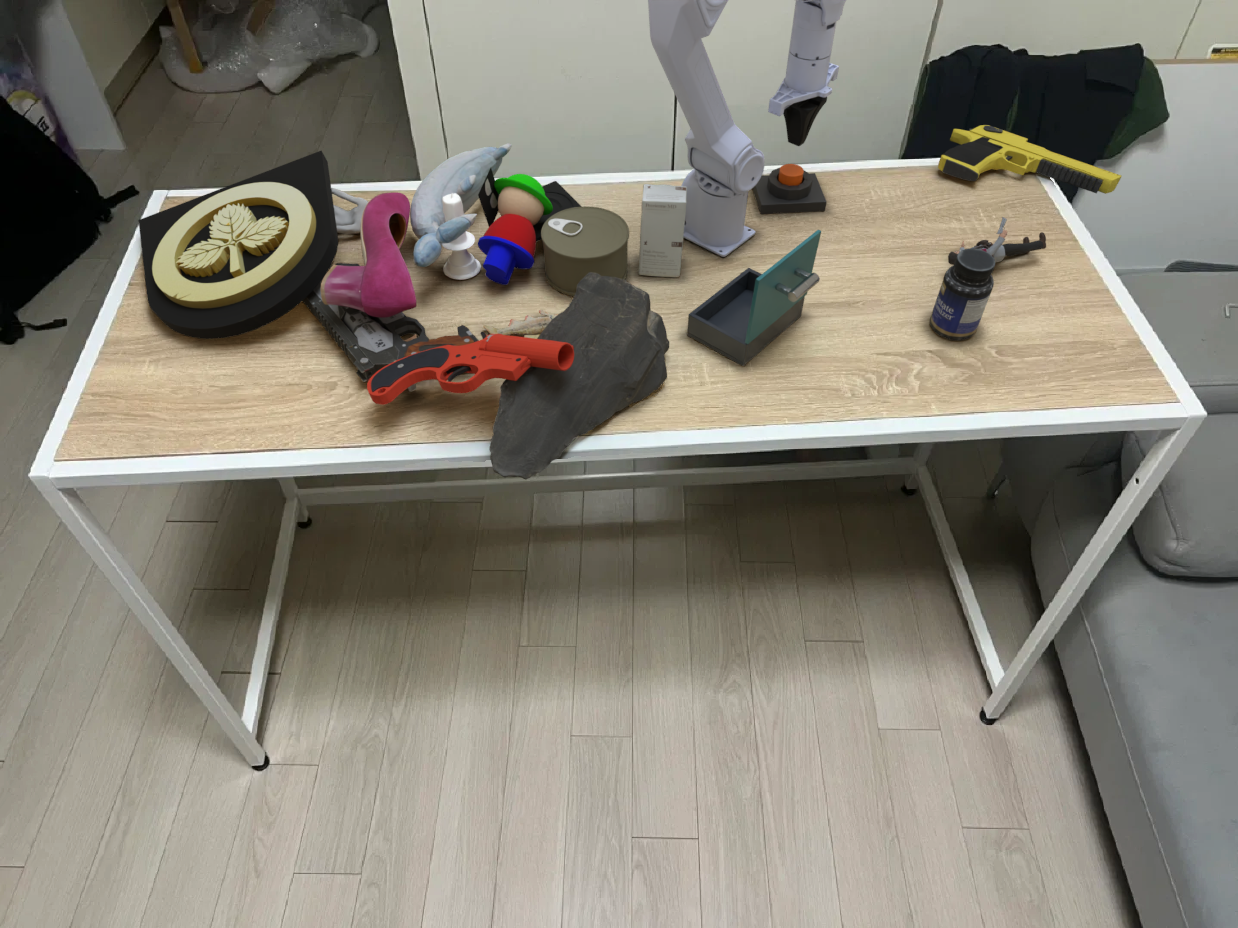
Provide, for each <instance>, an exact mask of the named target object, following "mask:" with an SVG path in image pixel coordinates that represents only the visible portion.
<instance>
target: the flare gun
mask: <svg viewBox="0 0 1238 928" xmlns="http://www.w3.org/2000/svg"><path fill="white" fill-rule="evenodd" d="M480 336H481V338H482V339H478V340H479V341H477V342H474V343H471V344H466V345H462V346H453V345H445V346H440V347H436V348H432V349H428V350H425V351H421V352H418V353H414V354H412V355H409V356H407V357H404V358H401V359H399V360H397V361H395V362H393V363H391V364H389V365H386V366H385V367H383V368H382V369H380V370H378V371H377V372H376V373H375V374H374V375H373V376H372V377H371V378H370V379H369V380H368V381H367V383H366V384H367V385H366V389H367V392H368V395H369V397H370V398H371V401H372V402H373V403H374V404H375V405H380V406H384V405H388V404H391V403H392V402H393V401H394V400H395V399H396V398H398V397H399V396H400V395H401V394H402V393H403V392H404V391H406V390H408V389H407V388H408V387H410V386H411V385H413V384H418V383H420V382H423V381H430V380H433V381H437V382H438V384H439V386H440V388H441V390H443V391H444V392H448V393H453V394H467V393H472V392H474V391H475V390H477V389H478V388H479V387H481V386H482V385H483V384H484V383H485V382H487V381H489V380H493V379H503V380H506V379H508V380H514V381H516V380H517V379H518V378H519V377H520V376H521V375H522V374H523V373H524V372H525V371H526V370H527V369H529V368H530V366H533V367H540V368H547V369H554V370H561V371H565V370H568V369H569V368H570V367H571V365H572V363H573V360H574V350H573V349H574V347H573V346H572V345H571V344H569V343H566V342H558V341H551V340H543V339H535V338H526V337H524V336H519V335H518V336H508V335H503V334H490V333H488V334H487V333H486V332H485V331H480ZM463 374H472V376H471V377H470V378H468V379H466V380H464V381H453V380H454V379H455V378H457V377H458V376H460V375H463Z"/></svg>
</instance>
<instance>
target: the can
mask: <svg viewBox="0 0 1238 928" xmlns="http://www.w3.org/2000/svg"><path fill="white" fill-rule="evenodd" d="M629 237H630V229H629V225H628V223H627V221H626V220H625V219H624V218H623V217H622V216H621V215H619V214H618V213H616V212H614V211H612V210H609V209H606V208H603V207H599V206H598V207H597V206H587V205H586V206H582V207H574V208H569V209H565V210H562V211H560V212H558V213H556V214H554V215H552V216H551V217H550V218H549V219H547V220H546V222H545V223H544V225H543V227H542V230H541V238H542V240H541V242H542V247H543V260H544V272H545V273H544V274H545V278H546V281H547V282H548V284H549V285H550V286H551V287H552V288H553V289H554V290H556V291H557V292H559V293H561V294H563V295H565V296H569V297H572V298H573V297H574V295H575V293H576V289H577V284H578V283H579V282H580V281H581V280H582V279H583V278H584V277H585V276H586V275H587V274H588V273H589V272H591V273H598V274H599V275H601V276H610V277H617V278H620V279H624V280H626V279H627V276H628V248H629V245H628V244H629Z"/></svg>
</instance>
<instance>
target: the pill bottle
mask: <svg viewBox="0 0 1238 928" xmlns="http://www.w3.org/2000/svg"><path fill="white" fill-rule="evenodd" d="M954 264H955V265H952V266H949V268H948V269H947V270H946V271H945V273H944V275H943V279H942V281H941V284H940V288H939V290H938V294H937V296H936V300H935V303H934V306H933V309H932V312H931V314H930V317H929V326H930V328H931V329H932V330H933V332H934V333H935V334H936V335H937V336H939V337H941V338H944V339H947V340H949V341H956V342H957V341H958V342H961V341H966V340H968V339H971V338H972V337H973V336H974V335H975V334H976V332H977V330H978V327H979V325H980V322H981V320H982V317H983V315H984V312H985V309H986V306H987V305H988V302H989V299H990V297H991V294H992V291H993V288H994V285H995V280H994V277H993V275H992V274H993V272H994V271H995V267H996V263H995V259H994V258H993V256H992V255H990V254H989V253H987V252H985V251H983V250H980V249H974V248H972V247H971V249H970V248H964V250H962V251H960V252H959V253H958V255H957V257H956V260H955V263H954Z"/></svg>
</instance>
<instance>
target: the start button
mask: <svg viewBox="0 0 1238 928" xmlns="http://www.w3.org/2000/svg"><path fill="white" fill-rule="evenodd" d="M779 168H780V171H779V178H778V180H779V182H780V183H782V184H784V185H789V186H796V185H799V184H801V183H802V179H803V173H804V171H805V169H804V168H803V167H802V166H801V165H799V164H795V163H786V164H783V165H781V166H780V167H779Z"/></svg>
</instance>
